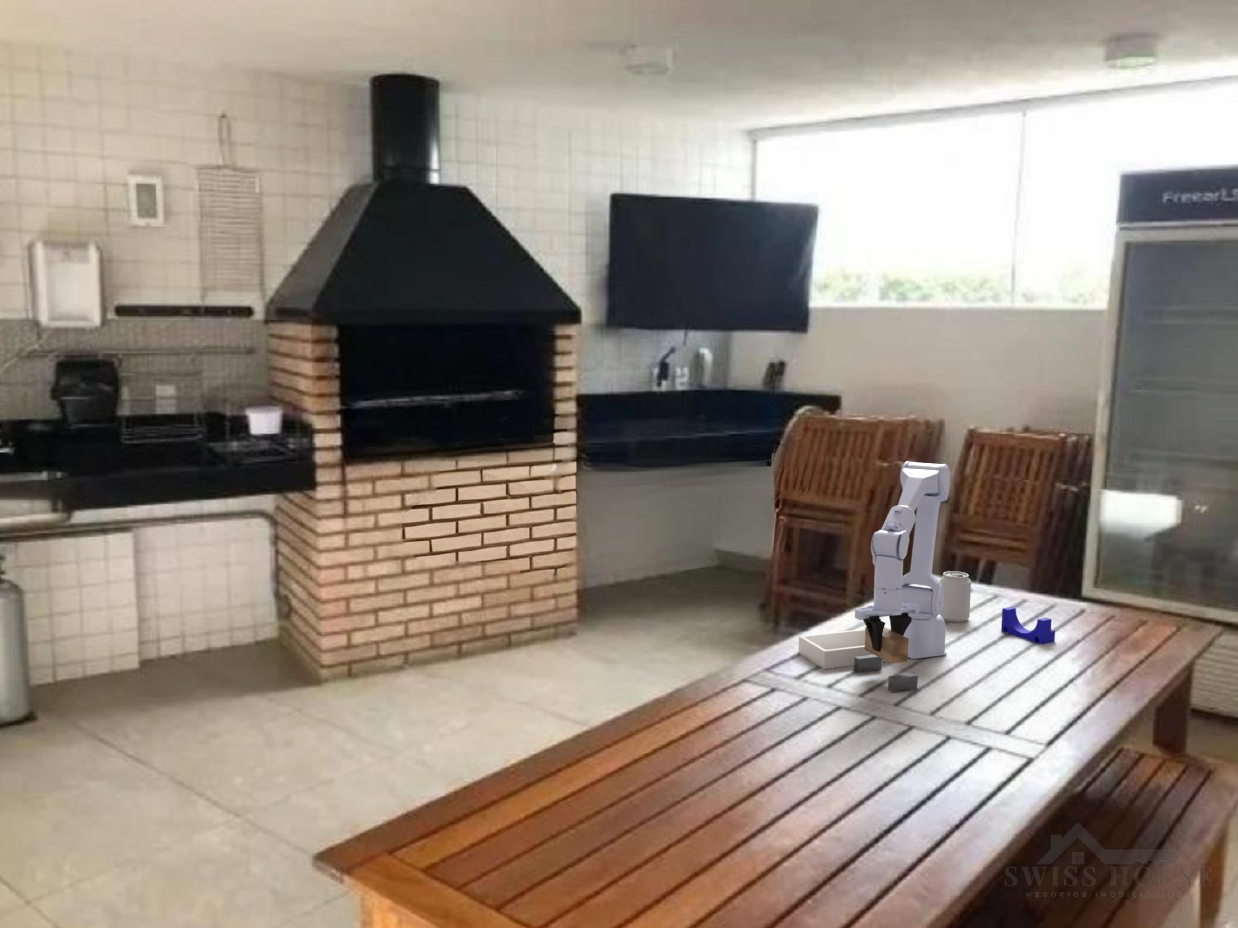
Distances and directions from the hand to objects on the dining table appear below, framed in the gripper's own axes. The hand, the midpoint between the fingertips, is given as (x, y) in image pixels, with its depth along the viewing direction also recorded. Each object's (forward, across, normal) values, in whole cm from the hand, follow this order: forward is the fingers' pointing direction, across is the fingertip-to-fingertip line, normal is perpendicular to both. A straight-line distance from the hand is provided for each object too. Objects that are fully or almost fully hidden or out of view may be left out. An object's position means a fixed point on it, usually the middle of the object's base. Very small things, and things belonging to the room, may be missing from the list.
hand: (885, 648), depth 223 cm
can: (+7, +42, +33) cm, 54 cm away
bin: (+7, 0, +16) cm, 17 cm away
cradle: (+7, 0, 0) cm, 7 cm away
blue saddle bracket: (+7, +50, +15) cm, 52 cm away
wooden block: (+1, 0, 0) cm, 1 cm away
